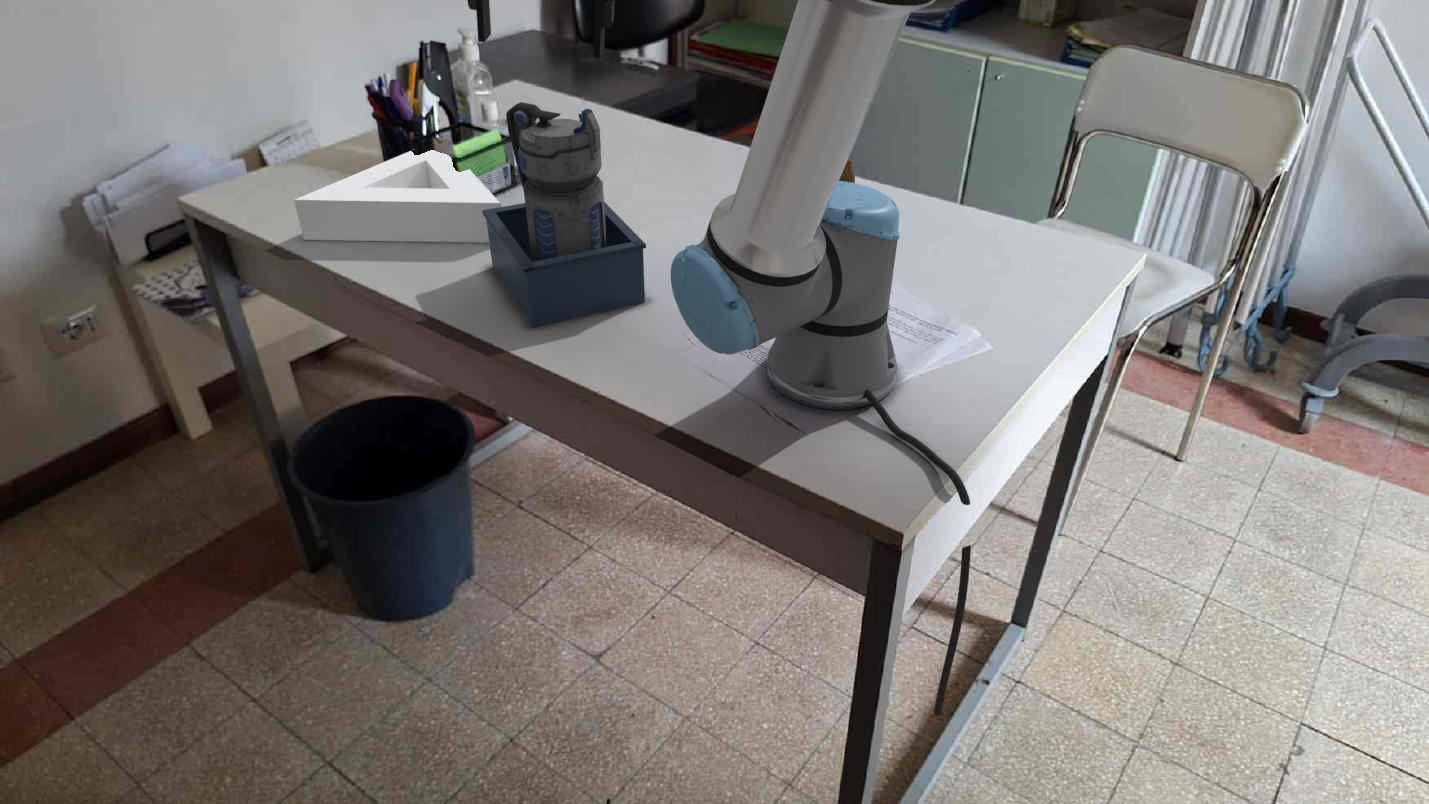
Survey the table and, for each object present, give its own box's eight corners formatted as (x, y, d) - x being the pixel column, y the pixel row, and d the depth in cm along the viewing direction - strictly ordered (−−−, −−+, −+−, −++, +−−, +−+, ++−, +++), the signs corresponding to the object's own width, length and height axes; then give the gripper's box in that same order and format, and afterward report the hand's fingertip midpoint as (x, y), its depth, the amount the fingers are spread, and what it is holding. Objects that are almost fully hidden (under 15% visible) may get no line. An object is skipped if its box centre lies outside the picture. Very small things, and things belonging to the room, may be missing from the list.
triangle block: (446, 174, 168) (440, 138, 164) (568, 207, 157) (564, 169, 153) (303, 239, 147) (293, 199, 143) (433, 283, 136) (425, 241, 132)
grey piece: (548, 259, 142) (531, 84, 128) (627, 279, 137) (618, 100, 123) (505, 288, 135) (481, 107, 120) (586, 311, 130) (572, 125, 115)
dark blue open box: (648, 302, 132) (646, 244, 127) (531, 329, 126) (524, 268, 121) (597, 245, 146) (593, 190, 141) (489, 266, 140) (482, 210, 135)
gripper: (662, -150, 105) (651, 48, 118) (431, -180, 105) (447, 20, 119) (651, -134, 99) (641, 72, 113) (406, -166, 99) (426, 42, 113)
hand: (541, 46), depth 116 cm, fingers open, 13 cm apart
